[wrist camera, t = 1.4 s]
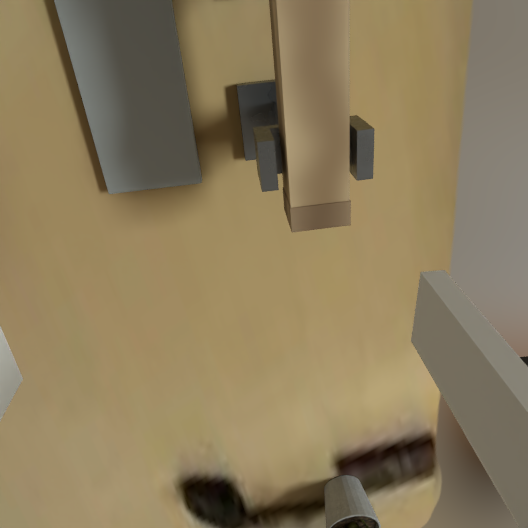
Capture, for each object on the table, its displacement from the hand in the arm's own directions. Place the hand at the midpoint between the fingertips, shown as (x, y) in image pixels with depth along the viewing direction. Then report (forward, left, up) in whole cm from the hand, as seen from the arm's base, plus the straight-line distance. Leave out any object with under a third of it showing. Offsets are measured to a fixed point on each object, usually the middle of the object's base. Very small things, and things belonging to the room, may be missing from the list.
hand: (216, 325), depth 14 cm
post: (0, +6, -27) cm, 28 cm away
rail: (-6, +6, -17) cm, 19 cm away
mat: (-6, -6, -27) cm, 28 cm away
